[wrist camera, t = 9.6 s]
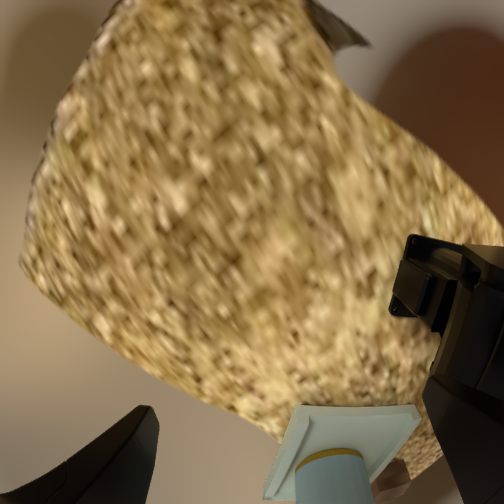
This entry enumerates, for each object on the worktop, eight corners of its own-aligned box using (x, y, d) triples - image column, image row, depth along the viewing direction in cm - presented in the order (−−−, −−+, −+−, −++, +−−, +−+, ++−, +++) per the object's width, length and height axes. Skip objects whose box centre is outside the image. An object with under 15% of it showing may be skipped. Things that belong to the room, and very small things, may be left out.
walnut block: (403, 458, 25) (411, 482, 21) (395, 473, 26) (402, 495, 22) (372, 467, 26) (379, 491, 21) (367, 481, 27) (372, 504, 22)
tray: (408, 393, 22) (421, 418, 18) (353, 475, 26) (357, 497, 22) (294, 391, 23) (296, 423, 19) (264, 475, 26) (262, 499, 23)
